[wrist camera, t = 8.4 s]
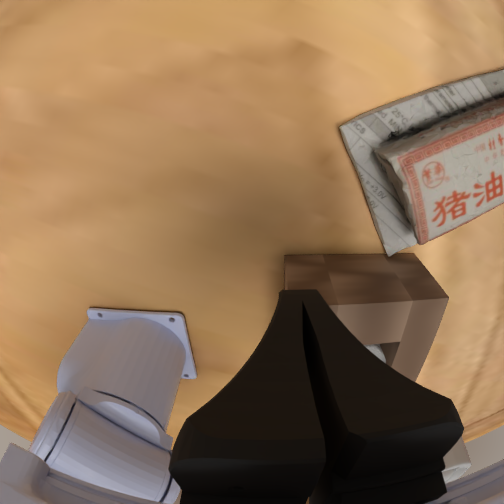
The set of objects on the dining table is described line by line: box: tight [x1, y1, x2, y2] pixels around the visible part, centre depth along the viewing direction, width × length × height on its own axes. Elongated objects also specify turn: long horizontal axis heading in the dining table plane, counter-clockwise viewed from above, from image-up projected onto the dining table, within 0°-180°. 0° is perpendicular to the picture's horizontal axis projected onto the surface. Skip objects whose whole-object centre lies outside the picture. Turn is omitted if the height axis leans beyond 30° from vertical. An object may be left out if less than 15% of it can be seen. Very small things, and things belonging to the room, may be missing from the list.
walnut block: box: [284, 253, 449, 382], centre depth 24 cm, size 10×22×6 cm, turn 2°
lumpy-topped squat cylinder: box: [442, 436, 471, 484], centre depth 32 cm, size 10×13×9 cm
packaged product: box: [339, 69, 504, 257], centre depth 15 cm, size 18×5×10 cm
